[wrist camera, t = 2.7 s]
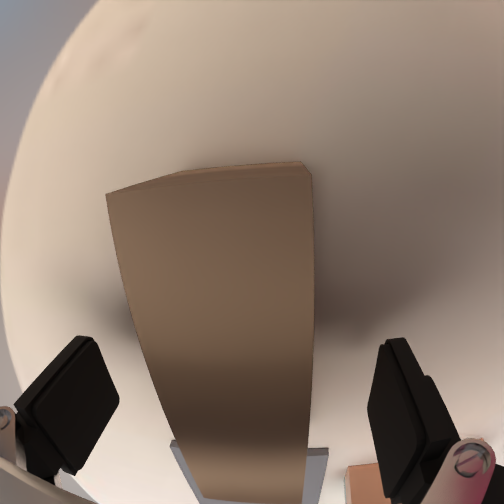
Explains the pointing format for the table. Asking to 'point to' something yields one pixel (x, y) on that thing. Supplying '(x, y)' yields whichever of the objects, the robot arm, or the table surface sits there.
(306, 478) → the mat
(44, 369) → the robot arm
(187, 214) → the block
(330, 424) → the table surface
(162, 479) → the table surface
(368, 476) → the tile
